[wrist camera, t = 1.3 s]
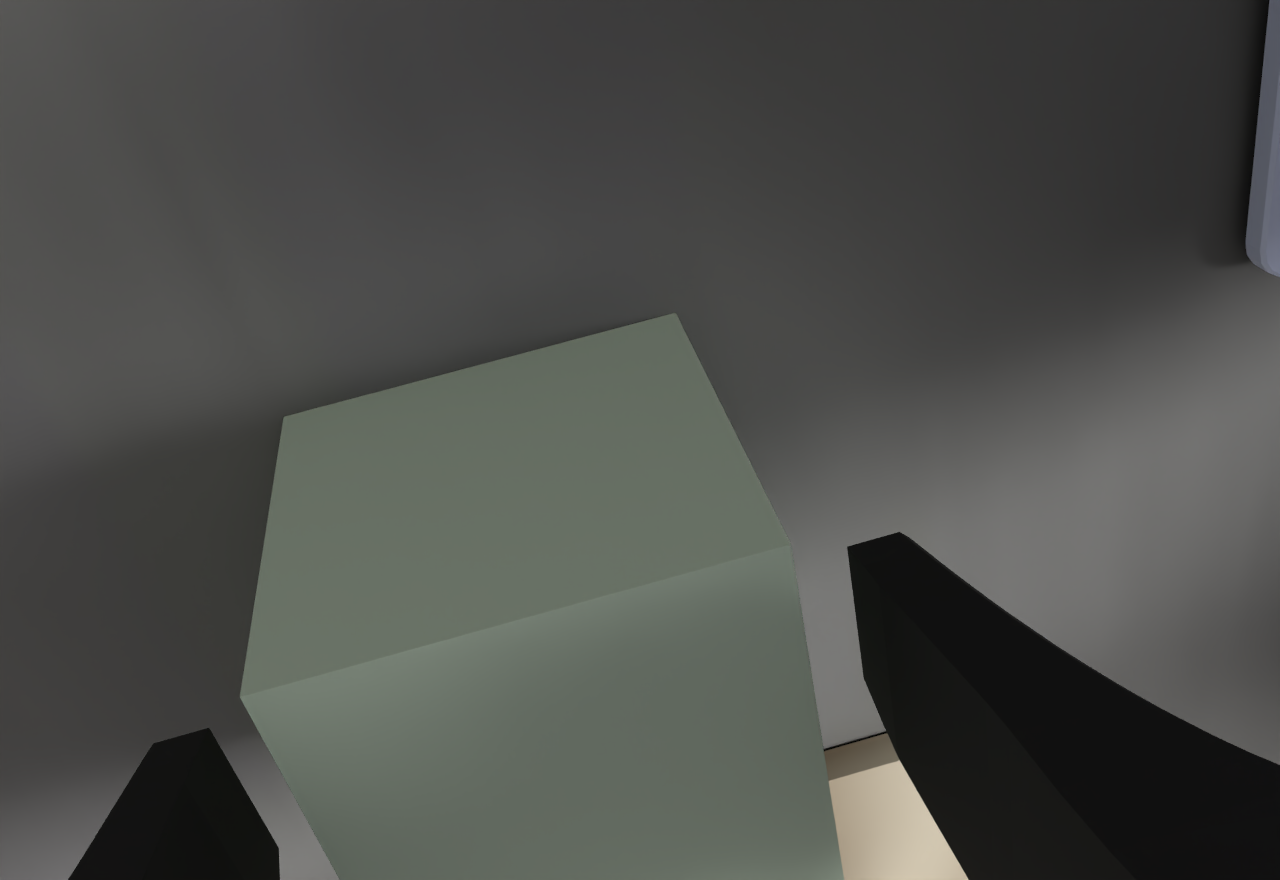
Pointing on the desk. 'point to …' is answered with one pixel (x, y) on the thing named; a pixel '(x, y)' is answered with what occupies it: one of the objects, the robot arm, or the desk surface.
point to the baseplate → (884, 817)
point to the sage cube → (539, 629)
